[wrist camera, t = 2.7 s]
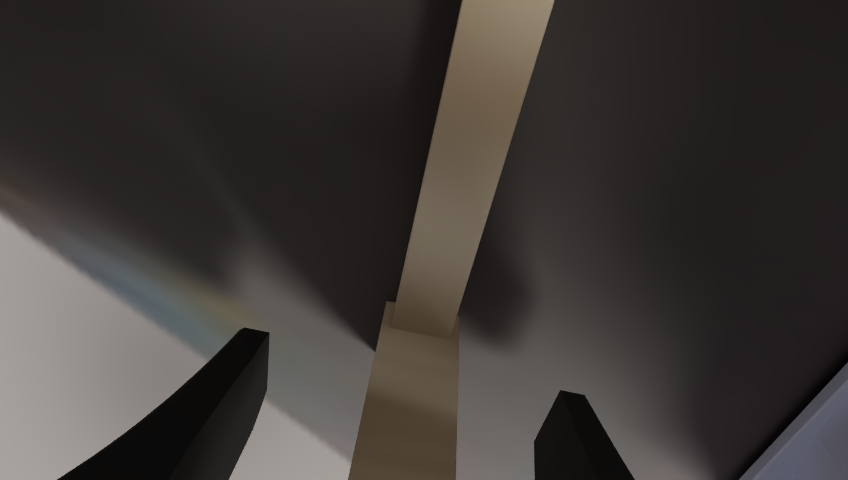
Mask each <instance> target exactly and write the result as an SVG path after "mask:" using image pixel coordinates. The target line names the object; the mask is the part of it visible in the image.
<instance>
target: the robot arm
mask: <svg viewBox="0 0 848 480" xmlns="http://www.w3.org/2000/svg"><path fill="white" fill-rule="evenodd" d="M268 354H269V332H264V331H259V330H254V329H249V328H243V329H241V330H239V331H238V332H237V333H236V334H235V336H234V337H233V338H232V339H231V340H230V341H229V342H228V343H227V344H226V345H225V346H224V347H223V348H222V349H221V350H220V351H219V352H218V353H217V354H216V355H215V356H214V357H213V358H212V359H211V360H210V361H209V362H208V363H207V364H206V365H205V366H203V367H202V368H201V370H199V371H198V372H197V373H196V374H195V375H194V376H193V377H192V378H190V379H189V380H188V381H187V382H186V383H185V384H184V385H183V386H182V387H180V388H179V389H178V390H177V391H176V392H175V393H174V394H173V395H171V396H170V397H169V398H168V399H167V400H165V401H164V402H163V403H162V404H161V405H159V406H158V407H157V408H156V409H154V410H153V411H152V412H151V413H150V414H148V415H147V416H146V417H145V418H143V419H142V420H141V421H140V422H139V423H137V424H136V425H135V426H133V427H132V428H131V429H129V430H128V431H127V432H126V433H124V434H123V435H122V436H120V437H119V438H117V439H116V440H115V441H113V442H112V443H111V444H109V445H108V446H107V447H105V448H104V449H102V450H101V451H99V452H98V453H97V454H95V455H94V456H92V457H91V458H89V459H88V460H86V461H85V462H83V463H82V464H80V465H79V466H77V467H76V468H74V469H73V470H71V471H70V472H68V473H67V474H65V475H64V476H62V477H61V478H59V479H57V480H229V478H230V476H231V474H232V472H233V469H234V467H235V465H236V463H237V461H238V459H239V457H240V455H241V453H242V451H243V449H244V447H245V445H246V443H247V440H248V438H249V436H250V434H251V431H252V430H253V427H254V425H255V422H256V419H257V416H258V413H259V411H260V408H261V405H262V402H263V399H264V396H265V394H266V391H267V376H268ZM534 465H535V480H635V479H634V478H633V476H632V474H631V473H630V471H629V470H628V468H627V467H626V465H625V463H624V462H623V460H622V458H621V457H620V455H619V453H618V452H617V450H616V448H615V447H614V445H613V443H612V442H611V440H610V438H609V436H608V435H607V433H606V431H605V430H604V428H603V426H602V424H601V423H600V421H599V419H598V417H597V416H596V414H595V412H594V411H593V409H592V407H591V405H590V404H589V402H588V400H587V399H586V397H585V395H582V394H577V393H572V392H567V391H561V390H560V392H559V394H558V396H557V398H556V400H555V402H554V404H553V406H552V408H551V409H550V411H549V413H548V415H547V417H546V419H545V421H544V423H543V425H542V427H541V429H540V431H539V433H538V435H537V437H536V439H535V441H534ZM739 480H848V363H847V364H846V365H845V366H844V367H843V368H842V369H841V370H840V371H839V372H838V373H837V374H836V375H835V377H834V378H833V379H832V380H831V381H830V382H829V383H828V384H827V385H826V386H825V387H824V388H823V389H822V391H821V392H820V393H819V394H818V395H817V396H816V397H815V398H814V399H813V400H812V401H811V402H810V403H809V405H808V406H807V407H806V408H805V409H804V410H803V411H802V412H801V413H800V414H799V415H798V416H797V417H796V419H795V420H794V421H793V422H792V423H791V424H790V425H789V426H788V427H787V428H786V429H785V430H784V431H783V433H782V434H781V435H780V436H779V437H778V438H777V439H776V440H775V441H774V442H773V443H772V444H771V445H770V447H769V448H768V449H767V450H766V451H765V452H764V453H763V454H762V455H761V456H760V457H759V458H758V459H757V461H756V462H755V463H754V464H753V465H752V466H751V467H750V468H749V469H748V470H747V471H746V472H745V473H744V475H743V476H742V477H741V478H740V479H739Z"/></svg>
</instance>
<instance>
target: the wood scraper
mask: <svg viewBox="0 0 848 480" xmlns="http://www.w3.org/2000/svg"><path fill="white" fill-rule="evenodd" d="M553 4H554V0H462V2H461V7H460V11H459V16H458V20H457V25H456V30H455V34H454V39H453V43H452V48H451V52H450V57H449V62H448V66H447V71H446V75H445V80H444V84H443V89H442V94H441V98H440V103H439V107H438V112H437V116H436V121H435V125H434V130H433V135H432V139H431V144H430V148H429V153H428V157H427V162H426V167H425V171H424V176H423V180H422V185H421V189H420V194H419V199H418V203H417V208H416V212H415V217H414V221H413V226H412V231H411V235H410V240H409V244H408V249H407V253H406V258H405V263H404V267H403V272H402V276H401V281H400V285H399V290H398V295H397V299H396V303H395V302H390V301H386V306H385V310H384V315H383V320H382V324H381V329H380V334H379V338H378V343H377V348H376V352H375V357H374V361H373V366H372V371H371V375H370V380H369V385H368V389H367V394H366V399H365V403H364V408H363V413H362V417H361V422H360V427H359V431H358V436H357V440H356V445H355V450H354V454H353V459H352V464H351V468H350V473H349V478H348V480H456V442H457V402H458V362H459V322H460V316H459V315H457V313H458V310H459V307H460V304H461V301H462V297H463V294H464V291H465V288H466V284H467V281H468V278H469V275H470V271H471V268H472V265H473V262H474V259H475V255H476V252H477V249H478V246H479V242H480V239H481V236H482V233H483V230H484V226H485V223H486V220H487V217H488V213H489V210H490V207H491V204H492V200H493V197H494V194H495V191H496V188H497V184H498V181H499V178H500V175H501V171H502V168H503V165H504V162H505V158H506V155H507V152H508V149H509V146H510V142H511V139H512V136H513V133H514V129H515V126H516V123H517V120H518V117H519V113H520V110H521V107H522V104H523V100H524V97H525V94H526V91H527V87H528V84H529V81H530V78H531V75H532V71H533V68H534V65H535V62H536V58H537V55H538V52H539V49H540V46H541V42H542V39H543V36H544V33H545V29H546V26H547V23H548V20H549V16H550V13H551V10H552V7H553Z"/></svg>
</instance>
